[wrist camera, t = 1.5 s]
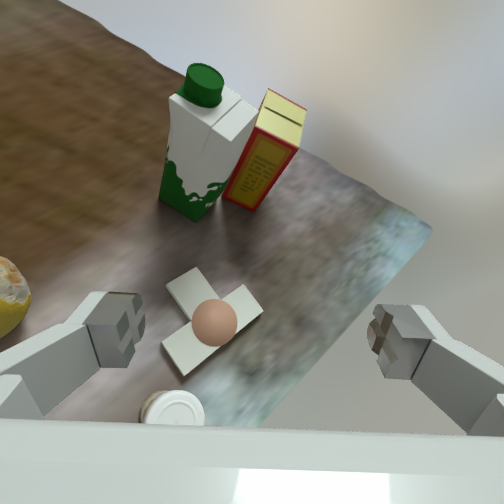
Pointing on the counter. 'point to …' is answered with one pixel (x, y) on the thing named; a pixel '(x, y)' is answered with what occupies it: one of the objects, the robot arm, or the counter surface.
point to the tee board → (206, 319)
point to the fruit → (12, 296)
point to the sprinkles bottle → (172, 409)
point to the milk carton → (203, 140)
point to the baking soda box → (266, 150)
